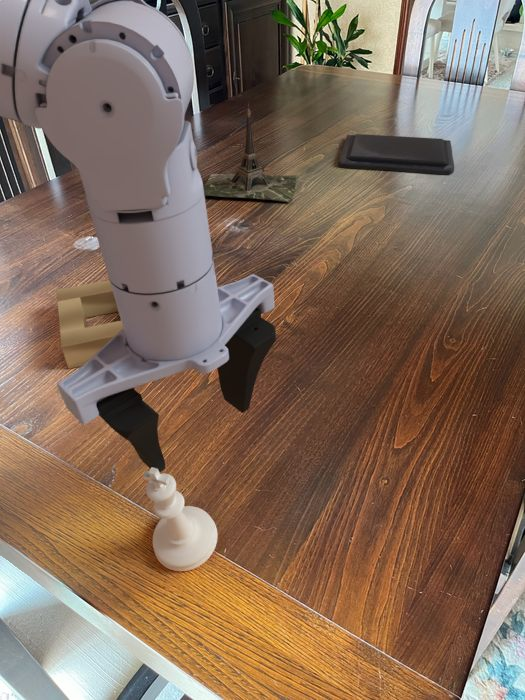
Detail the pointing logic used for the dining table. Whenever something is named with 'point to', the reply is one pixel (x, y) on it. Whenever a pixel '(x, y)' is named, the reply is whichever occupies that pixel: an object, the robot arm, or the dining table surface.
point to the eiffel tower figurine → (250, 178)
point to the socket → (72, 315)
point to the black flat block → (397, 154)
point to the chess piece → (178, 525)
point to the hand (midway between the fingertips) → (196, 432)
